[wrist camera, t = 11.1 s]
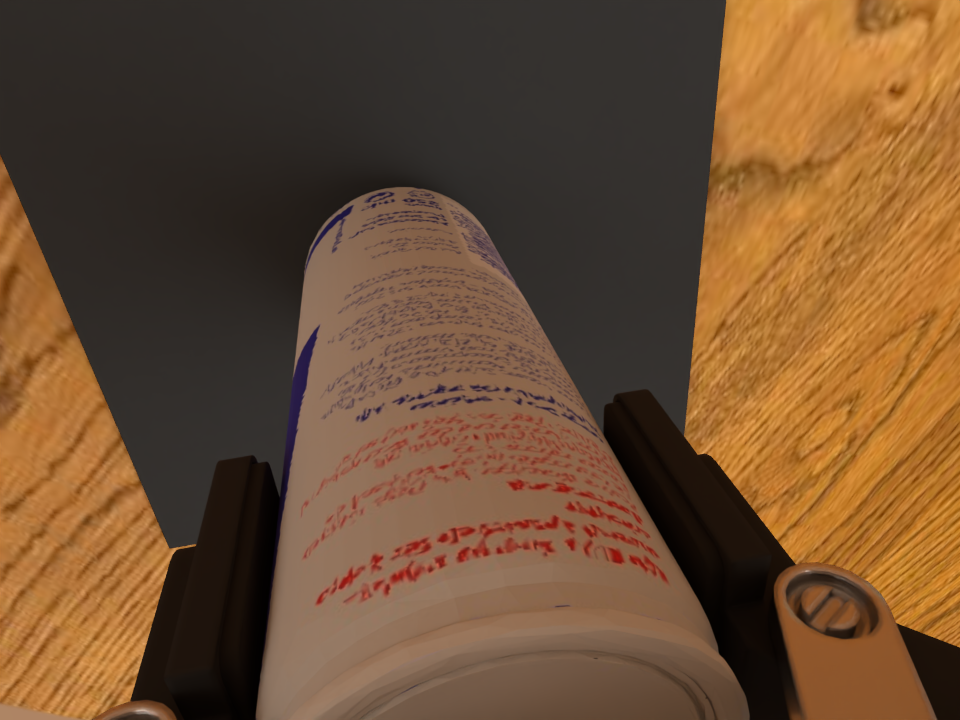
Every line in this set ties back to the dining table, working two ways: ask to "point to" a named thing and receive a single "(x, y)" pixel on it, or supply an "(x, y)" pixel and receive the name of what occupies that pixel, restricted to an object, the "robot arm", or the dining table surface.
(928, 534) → the dining table surface
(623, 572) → the beverage can
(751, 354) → the dining table surface
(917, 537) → the dining table surface
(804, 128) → the dining table surface
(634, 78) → the mat
